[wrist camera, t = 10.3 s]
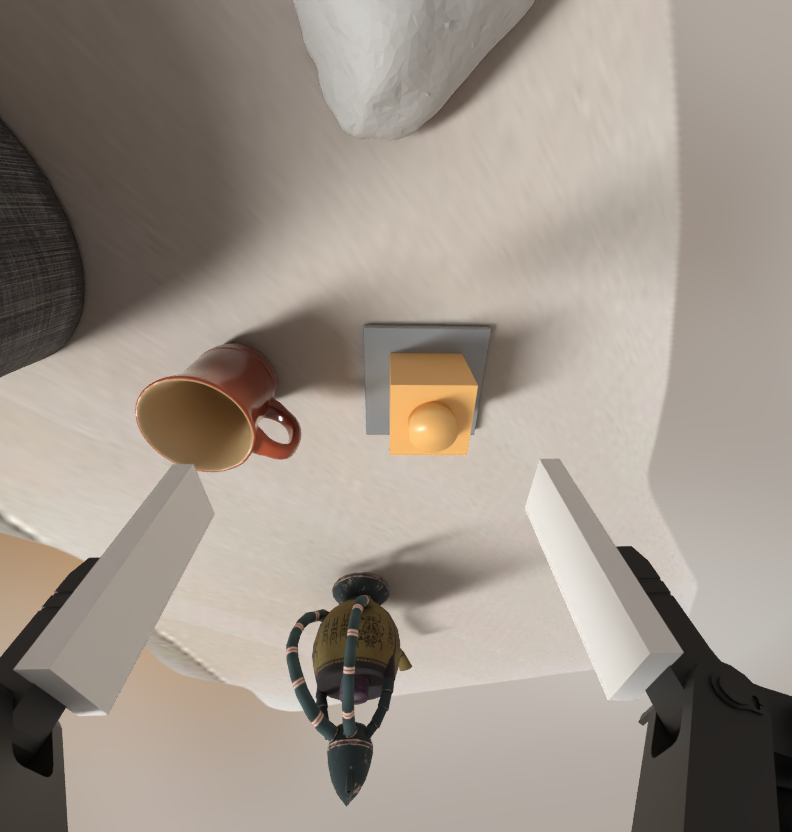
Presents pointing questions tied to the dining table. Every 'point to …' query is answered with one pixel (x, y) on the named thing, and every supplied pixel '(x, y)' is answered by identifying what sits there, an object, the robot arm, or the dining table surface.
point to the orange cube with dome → (430, 404)
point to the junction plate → (415, 340)
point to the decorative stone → (398, 55)
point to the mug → (216, 411)
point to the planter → (33, 263)
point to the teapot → (349, 673)
